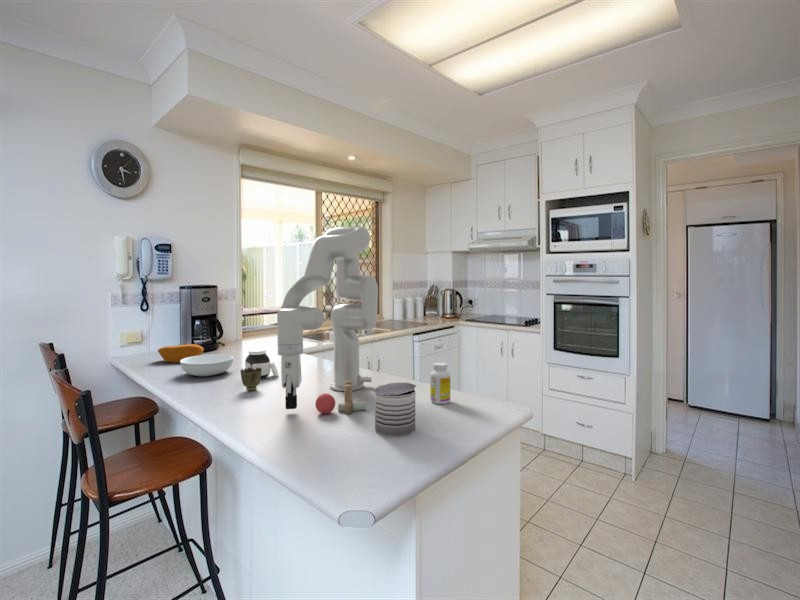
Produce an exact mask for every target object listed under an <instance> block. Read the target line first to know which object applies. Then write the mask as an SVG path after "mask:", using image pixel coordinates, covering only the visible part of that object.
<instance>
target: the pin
mask: <svg viewBox="0 0 800 600" xmlns="http://www.w3.org/2000/svg"><path fill="white" fill-rule="evenodd" d="M353 397H354V396H353V391H352V385H345V391H344V403H345V411H344V414H345V415H352V414H353V412H354V411H353V403H354V402H353V399H354V398H353Z"/></svg>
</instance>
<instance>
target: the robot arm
mask: <svg viewBox="0 0 800 600" xmlns="http://www.w3.org/2000/svg"><path fill="white" fill-rule="evenodd" d="M370 241H371V235H370V232H369V231H368V229H367V228H365V227H363V226H348V227H347V226H344V227H343V226H342V227H333V228H330V229H328V230H326V232H325V234H324V235H321V236H319V237H316V239H315V240H314V242H313V245H312V248H311V251H310V254H309V258H308V259H307V260H308V261H307V264H306V268H305V270H304V274H303V275H302V276H301V277H300V278H299V279H298V280H297V281H295V283H294V284H293V285H292V286H291V287H290V288H289V289H288V290H287V292H286V293H285V297H284V299H283V302H282V305H281V309H279V310H278V311H277V313H276V315H277V316H276V323H277V324H276V326H277V327H276V329H277V331H276V332H277V356H281V361H280V362H281V363H280V364H281V366H280V367H281V368H280V369H281V373H280V374H281V387H282V388H283V389H285V399H284V400H285V409H286V410H296V409H297V407H298V397H297V396H298V394H297V389H298V388H299V387H300V386H301V383H302V360H301V355H303V354H304V331H315V330H318V329H320V328H321V327H322V326H323V324H324V322H325V314H324V312H323V310H322V309H320V308H318V307H316V306H305V305H304V306H303V305H301V303H302V301H303V300H304V299H305V298H306V296H308V295H309V294H311V293H313V292H315V291H317V290H319V289H320V288H322V287H325V286H327V285H328V284H329V283H330V280H331V276H332V272H333V270H334V266H335V265H334V264H335V263H336V285H335V286H336V288H335V290H336V296H337V298H338V299H340V300H342V301H353V302H354V301H355V302H356V301H357V302H360V303H361V304H356V303H353V304H352V303H342V304H338V305H335V306H334V307H333V308H332V309H331V312H330V313H331V314H330V320H331V326H332V330H333V363H334V364H333V367H334V368H333V369H334V370H333V371H334V372H333V374H334V375H333V377H334V379H333V382H331V383H330V385H329V388H330V389H331V390H333V391H338V392H345V381H352V392H354V391H358V390H361V389H362V388H364V386H365V385H364V383H372V380H373V378H372V376H368V375H367V376H362V375H361V373H360V339H359V336H358V334H357V332H356V331H371V330H373V329H374V328H375V327H376V324H377V322H378V321H377V320H378V302H379V301H378V300H379V287H378V282H377V281H376V278H374V276H372V275H366V274H365V275H364V274H360V260H359V258H358V257H357V256H358V255H360V254H361V253H362V252H364V251H366V249H367V248H368V247H369V245H370Z"/></svg>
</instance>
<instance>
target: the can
mask: <svg viewBox="0 0 800 600" xmlns="http://www.w3.org/2000/svg"><path fill="white" fill-rule="evenodd" d="M416 387H417V384H413V383H410V382H391V383H386V384H382V385H378V386H377V387H376V388H375V389H374V390H373V392H374V430H375V433H376V434H377V435H380V436H383V437H387V438H401V437H407V436H411V435H412V434H413V433H415V432H416V390H415V389H416Z"/></svg>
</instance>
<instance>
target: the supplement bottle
mask: <svg viewBox="0 0 800 600" xmlns="http://www.w3.org/2000/svg"><path fill="white" fill-rule="evenodd" d="M432 368H433V371H432V370H431V372H430V375H429V376H430V385H429V386H430V388H429V389H430V390H429V391H430V395H429V397H430V402H431V404H437V405H447V404H449V403H450V402H451V373H450V372H449V371H448V370H447V369H448V363H446V362H435V363H434V362H433V365H432Z"/></svg>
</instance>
